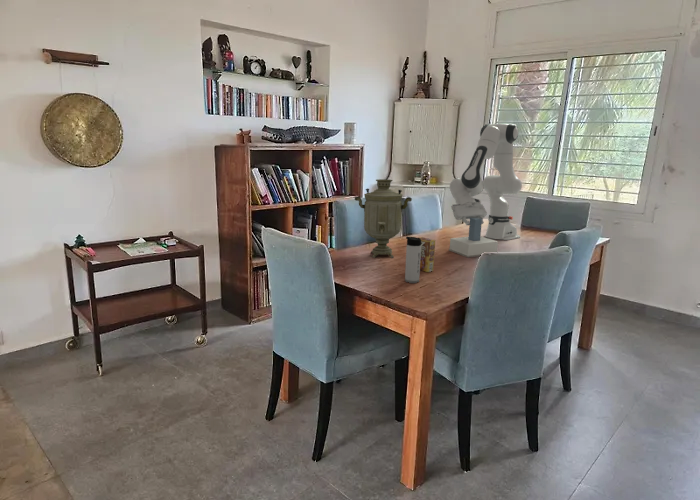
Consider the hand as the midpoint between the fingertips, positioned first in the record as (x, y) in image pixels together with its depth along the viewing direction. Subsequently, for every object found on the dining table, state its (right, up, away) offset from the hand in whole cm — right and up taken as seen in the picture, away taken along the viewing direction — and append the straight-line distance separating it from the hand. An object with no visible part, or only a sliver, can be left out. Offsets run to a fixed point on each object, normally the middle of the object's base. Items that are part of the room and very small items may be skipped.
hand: (475, 224), depth 252 cm
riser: (0, -15, +4) cm, 16 cm away
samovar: (-53, -18, -8) cm, 56 cm away
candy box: (-33, -24, -31) cm, 52 cm away
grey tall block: (0, -9, +2) cm, 9 cm away
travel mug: (-42, -28, -49) cm, 70 cm away
